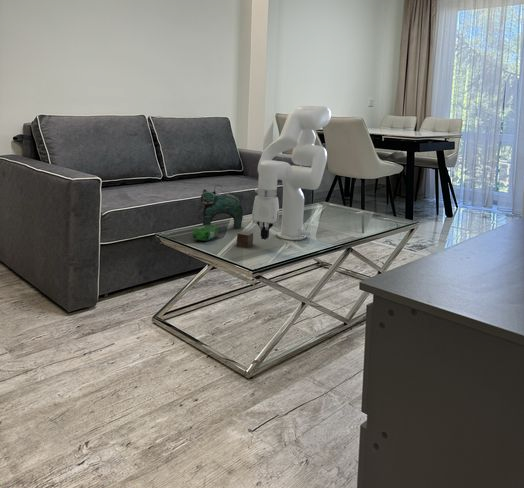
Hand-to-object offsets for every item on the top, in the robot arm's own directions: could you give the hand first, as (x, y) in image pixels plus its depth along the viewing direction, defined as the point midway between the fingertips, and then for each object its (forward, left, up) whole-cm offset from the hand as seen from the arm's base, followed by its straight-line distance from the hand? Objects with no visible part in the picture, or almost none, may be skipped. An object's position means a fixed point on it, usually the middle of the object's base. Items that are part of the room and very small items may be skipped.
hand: (264, 238), depth 199 cm
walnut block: (+9, 0, -4) cm, 10 cm away
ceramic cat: (+31, -22, -4) cm, 38 cm away
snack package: (+27, 0, -4) cm, 27 cm away
